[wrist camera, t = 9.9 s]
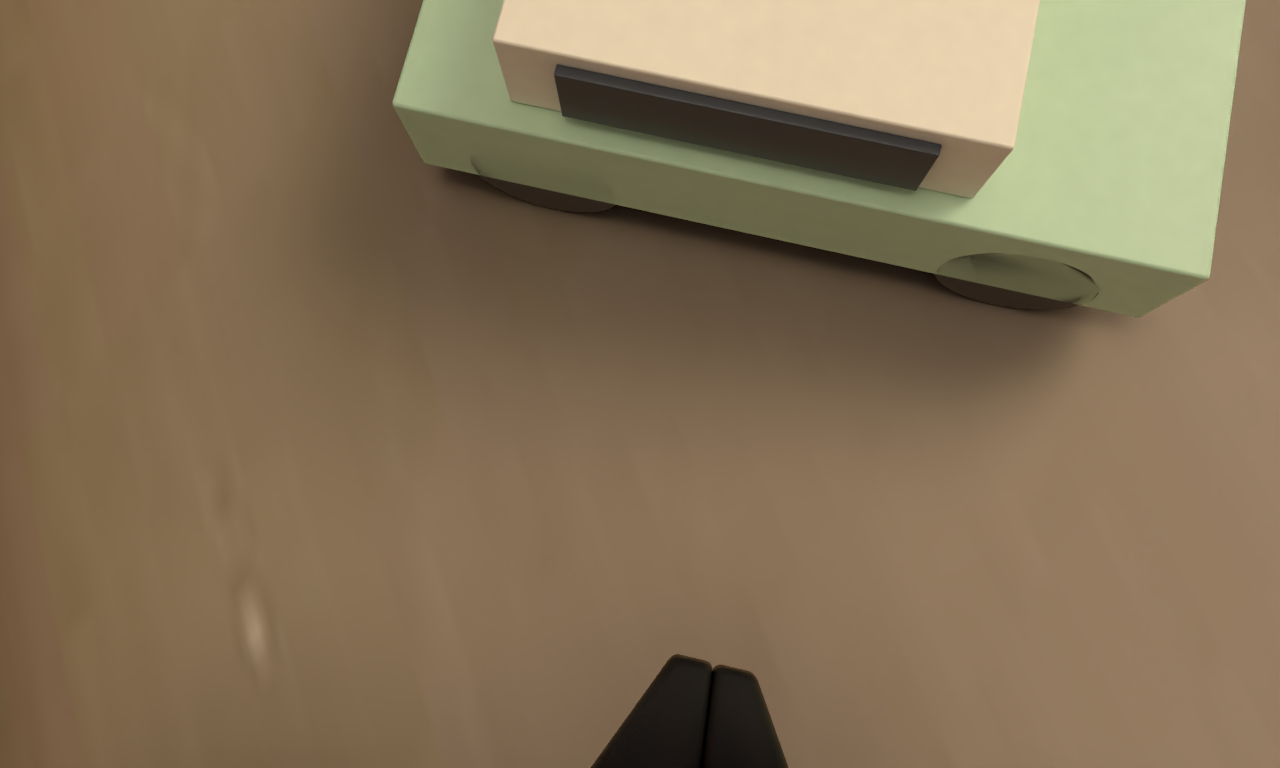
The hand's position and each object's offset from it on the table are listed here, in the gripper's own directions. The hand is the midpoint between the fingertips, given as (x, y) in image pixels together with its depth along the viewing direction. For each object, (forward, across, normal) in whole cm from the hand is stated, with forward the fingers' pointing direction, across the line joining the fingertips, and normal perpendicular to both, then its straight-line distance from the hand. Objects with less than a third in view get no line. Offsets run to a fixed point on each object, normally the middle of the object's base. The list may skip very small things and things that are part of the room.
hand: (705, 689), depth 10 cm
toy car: (+10, 0, -1) cm, 10 cm away
